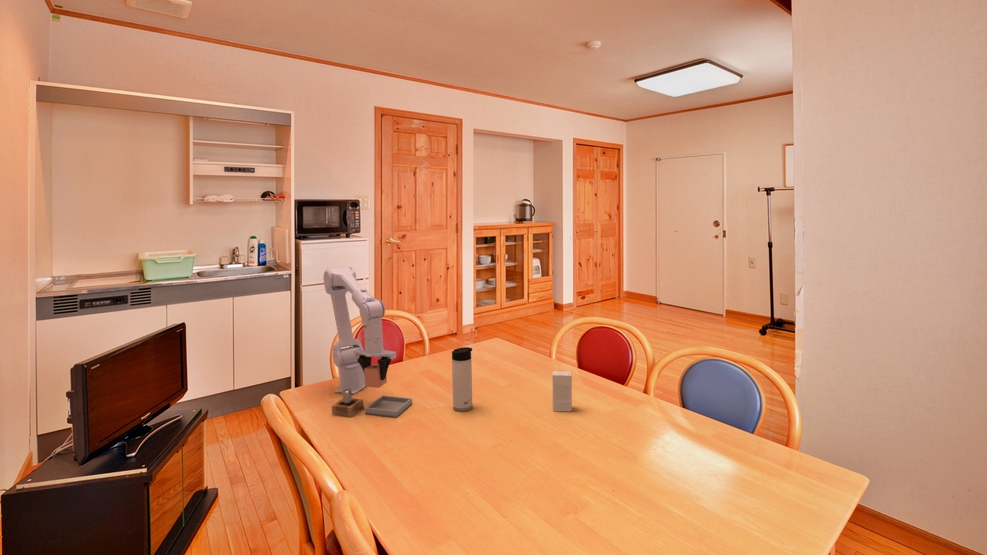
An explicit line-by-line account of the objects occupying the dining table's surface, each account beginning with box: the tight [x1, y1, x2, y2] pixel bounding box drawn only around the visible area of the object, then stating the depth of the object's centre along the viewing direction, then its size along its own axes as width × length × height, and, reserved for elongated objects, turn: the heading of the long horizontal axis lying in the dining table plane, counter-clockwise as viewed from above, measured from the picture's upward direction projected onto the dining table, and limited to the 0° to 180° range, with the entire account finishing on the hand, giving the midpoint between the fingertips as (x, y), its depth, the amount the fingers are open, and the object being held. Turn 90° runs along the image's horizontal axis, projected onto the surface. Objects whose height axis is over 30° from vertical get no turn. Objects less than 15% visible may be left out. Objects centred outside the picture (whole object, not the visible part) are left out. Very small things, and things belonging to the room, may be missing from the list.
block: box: [364, 363, 387, 389], centre depth 156 cm, size 5×5×6 cm
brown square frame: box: [331, 397, 365, 418], centre depth 153 cm, size 7×7×3 cm
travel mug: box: [451, 346, 473, 412], centre depth 154 cm, size 6×7×20 cm
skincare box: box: [551, 370, 573, 412], centre depth 152 cm, size 6×4×12 cm
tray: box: [364, 394, 413, 419], centre depth 155 cm, size 11×11×2 cm
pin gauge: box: [341, 389, 353, 406], centre depth 153 cm, size 3×3×7 cm
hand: (375, 378), depth 156 cm, fingers closed on block, 5 cm apart
